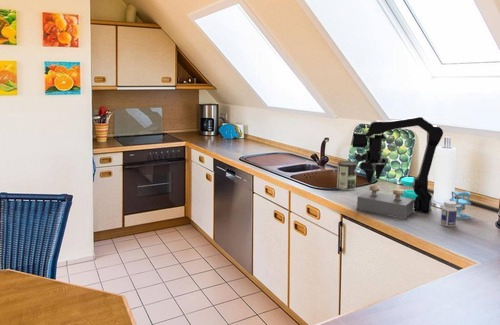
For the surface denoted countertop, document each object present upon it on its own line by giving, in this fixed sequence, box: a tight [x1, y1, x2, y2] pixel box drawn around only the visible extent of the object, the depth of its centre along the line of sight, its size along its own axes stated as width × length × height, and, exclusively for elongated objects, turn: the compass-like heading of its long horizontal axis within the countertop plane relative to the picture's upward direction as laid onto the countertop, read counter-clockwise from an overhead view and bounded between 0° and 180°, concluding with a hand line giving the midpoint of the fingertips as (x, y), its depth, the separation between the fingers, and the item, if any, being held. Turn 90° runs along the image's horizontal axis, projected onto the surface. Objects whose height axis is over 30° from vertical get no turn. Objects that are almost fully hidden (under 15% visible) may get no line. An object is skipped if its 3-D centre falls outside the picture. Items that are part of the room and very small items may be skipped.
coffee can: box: [336, 160, 358, 191], centre depth 237 cm, size 10×10×14 cm
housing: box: [356, 190, 414, 219], centre depth 199 cm, size 22×12×6 cm, turn 53°
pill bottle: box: [440, 200, 458, 228], centre depth 181 cm, size 6×6×10 cm
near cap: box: [392, 188, 404, 201], centre depth 195 cm, size 4×4×7 cm
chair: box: [449, 190, 472, 220], centre depth 192 cm, size 8×8×12 cm
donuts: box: [400, 176, 418, 200], centre depth 219 cm, size 10×10×10 cm
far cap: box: [369, 184, 381, 197], centre depth 202 cm, size 4×4×7 cm
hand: (373, 180), depth 203 cm, fingers open, 9 cm apart
